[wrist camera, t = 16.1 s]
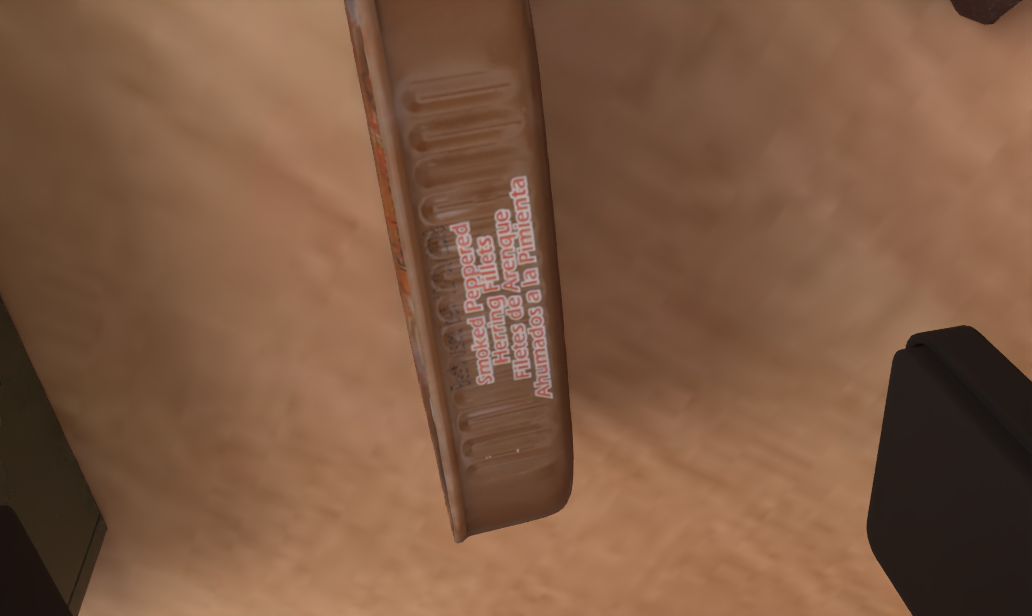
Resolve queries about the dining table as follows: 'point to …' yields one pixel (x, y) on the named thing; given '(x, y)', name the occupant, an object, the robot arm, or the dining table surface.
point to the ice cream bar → (983, 9)
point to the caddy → (44, 475)
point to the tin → (473, 245)
